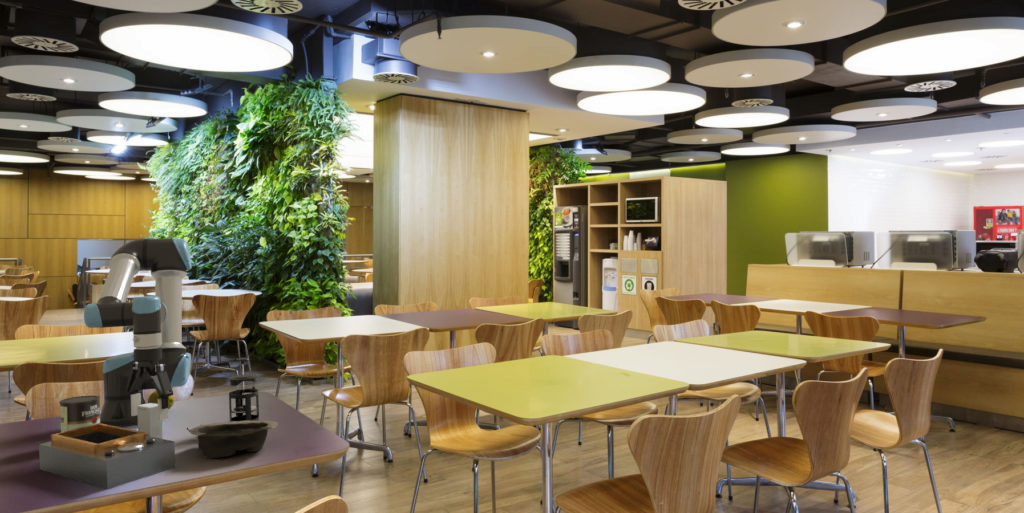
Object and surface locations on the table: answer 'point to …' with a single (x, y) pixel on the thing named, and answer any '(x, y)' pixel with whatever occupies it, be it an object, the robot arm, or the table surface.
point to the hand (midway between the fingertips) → (149, 417)
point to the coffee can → (79, 412)
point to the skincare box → (149, 420)
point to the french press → (239, 397)
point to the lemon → (154, 399)
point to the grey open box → (106, 455)
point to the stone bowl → (231, 437)
